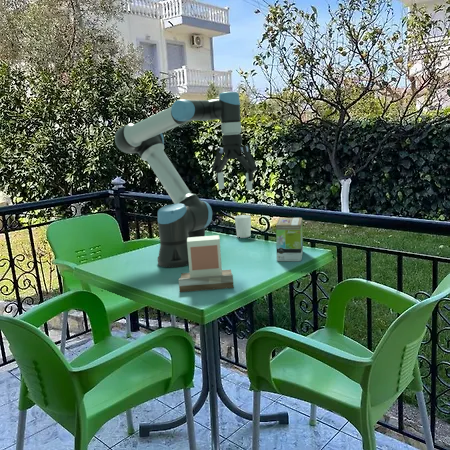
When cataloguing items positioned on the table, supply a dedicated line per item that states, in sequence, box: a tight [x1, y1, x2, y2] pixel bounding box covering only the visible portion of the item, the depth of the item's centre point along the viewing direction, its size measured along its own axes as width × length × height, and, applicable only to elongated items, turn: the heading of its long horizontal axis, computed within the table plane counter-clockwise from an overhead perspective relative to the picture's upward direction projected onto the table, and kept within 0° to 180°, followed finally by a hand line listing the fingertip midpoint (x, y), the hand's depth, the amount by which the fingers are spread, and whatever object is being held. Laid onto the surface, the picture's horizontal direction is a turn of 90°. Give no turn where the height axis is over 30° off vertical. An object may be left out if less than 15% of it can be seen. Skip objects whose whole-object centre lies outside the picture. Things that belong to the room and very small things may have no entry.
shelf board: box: [178, 269, 234, 293], centre depth 155 cm, size 14×18×4 cm
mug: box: [188, 227, 206, 238], centre depth 209 cm, size 8×12×10 cm
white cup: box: [234, 214, 252, 239], centre depth 219 cm, size 8×8×10 cm
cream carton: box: [187, 234, 223, 278], centre depth 153 cm, size 6×11×14 cm, turn 93°
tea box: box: [275, 217, 304, 262], centre depth 179 cm, size 15×10×15 cm
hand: (235, 189), depth 174 cm, fingers open, 13 cm apart
